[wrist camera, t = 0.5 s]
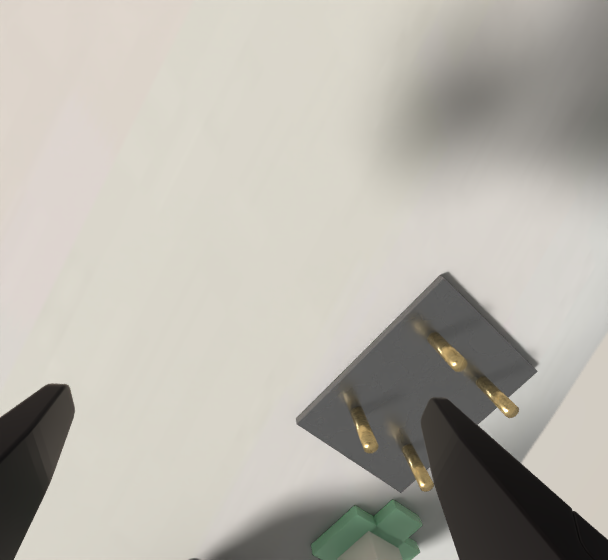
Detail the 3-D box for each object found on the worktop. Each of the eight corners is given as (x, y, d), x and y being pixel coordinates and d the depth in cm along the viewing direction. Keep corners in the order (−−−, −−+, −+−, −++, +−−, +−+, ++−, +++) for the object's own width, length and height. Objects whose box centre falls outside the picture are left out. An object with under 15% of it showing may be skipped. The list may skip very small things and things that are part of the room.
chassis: (398, 486, 32) (418, 532, 28) (295, 418, 28) (303, 460, 24) (532, 367, 30) (574, 399, 26) (440, 275, 26) (473, 297, 22)
